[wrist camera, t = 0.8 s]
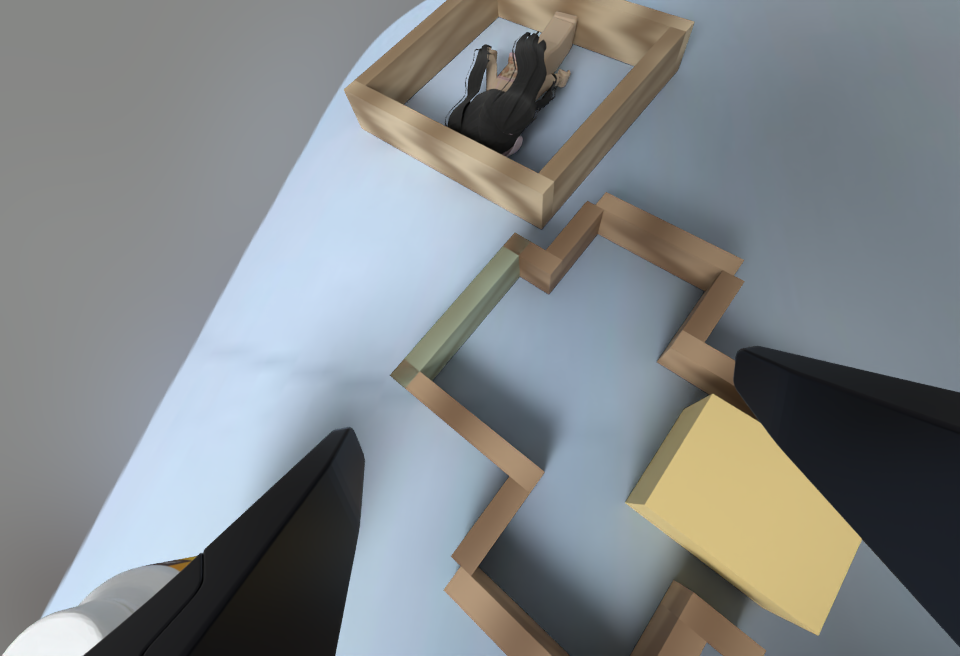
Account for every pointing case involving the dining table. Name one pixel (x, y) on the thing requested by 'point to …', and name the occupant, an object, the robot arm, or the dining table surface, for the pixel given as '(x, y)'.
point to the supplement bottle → (95, 613)
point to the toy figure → (514, 87)
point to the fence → (512, 186)
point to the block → (747, 512)
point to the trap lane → (530, 650)
